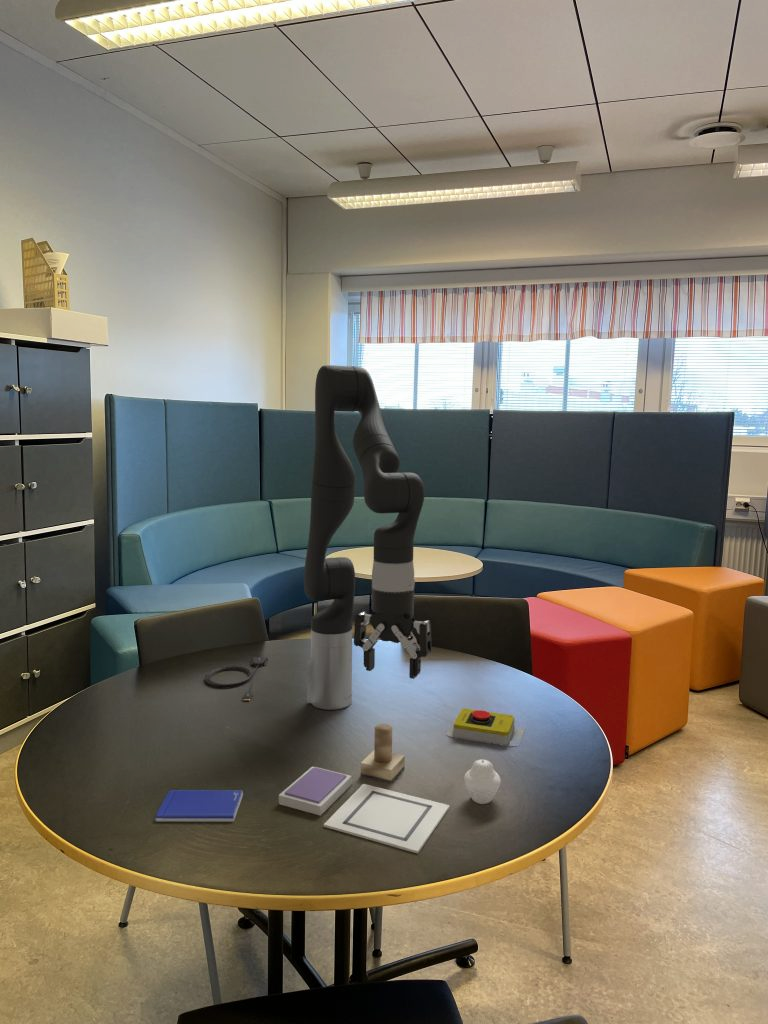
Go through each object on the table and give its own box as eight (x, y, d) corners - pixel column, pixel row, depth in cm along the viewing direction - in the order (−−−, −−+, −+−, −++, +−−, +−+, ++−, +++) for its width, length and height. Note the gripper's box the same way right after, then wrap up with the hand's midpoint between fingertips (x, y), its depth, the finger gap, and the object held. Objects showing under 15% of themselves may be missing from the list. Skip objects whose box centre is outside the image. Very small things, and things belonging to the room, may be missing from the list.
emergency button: (455, 701, 152) (525, 711, 148) (455, 720, 153) (525, 731, 148) (445, 717, 144) (519, 729, 139) (444, 738, 144) (518, 750, 139)
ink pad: (278, 804, 118) (278, 793, 118) (312, 774, 128) (312, 764, 127) (320, 815, 114) (320, 804, 114) (351, 784, 124) (351, 774, 124)
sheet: (323, 826, 111) (323, 823, 111) (363, 785, 124) (363, 783, 124) (417, 853, 105) (418, 850, 105) (449, 807, 117) (449, 804, 117)
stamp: (360, 776, 128) (361, 730, 126) (375, 762, 133) (375, 718, 132) (391, 783, 125) (391, 737, 124) (404, 768, 131) (405, 724, 129)
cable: (190, 703, 160) (190, 697, 160) (217, 661, 188) (217, 656, 188) (250, 703, 161) (250, 697, 160) (268, 662, 188) (268, 656, 188)
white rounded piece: (486, 813, 116) (487, 772, 115) (456, 799, 120) (457, 760, 119) (507, 798, 120) (508, 759, 120) (477, 785, 125) (478, 748, 124)
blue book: (242, 788, 121) (169, 788, 120) (233, 815, 112) (155, 815, 112) (243, 797, 121) (170, 797, 121) (233, 824, 113) (155, 824, 112)
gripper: (347, 585, 125) (346, 673, 127) (422, 594, 119) (420, 687, 121) (366, 577, 132) (365, 661, 134) (438, 585, 126) (436, 673, 128)
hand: (391, 673), depth 127 cm, fingers open, 8 cm apart
